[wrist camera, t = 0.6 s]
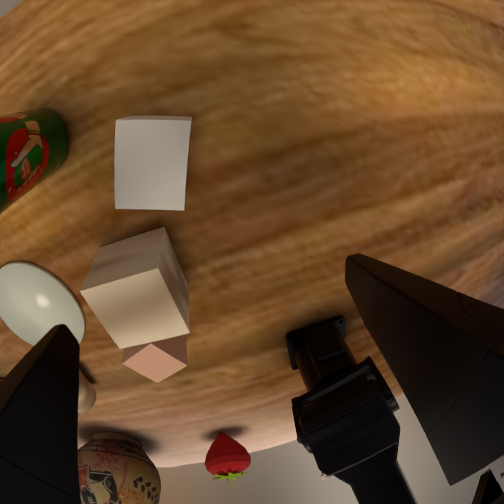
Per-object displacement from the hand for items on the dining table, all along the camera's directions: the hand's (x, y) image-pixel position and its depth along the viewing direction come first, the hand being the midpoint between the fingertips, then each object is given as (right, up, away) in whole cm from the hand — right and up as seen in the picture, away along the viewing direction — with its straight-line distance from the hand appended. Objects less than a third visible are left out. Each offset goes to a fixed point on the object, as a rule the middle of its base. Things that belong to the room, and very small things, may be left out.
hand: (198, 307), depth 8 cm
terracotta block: (-7, -6, +17) cm, 19 cm away
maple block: (-7, 0, +13) cm, 15 cm away
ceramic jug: (-23, -31, +29) cm, 48 cm away
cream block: (-5, +8, +9) cm, 13 cm away
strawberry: (-3, -27, +31) cm, 41 cm away
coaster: (-19, -4, +13) cm, 23 cm away
